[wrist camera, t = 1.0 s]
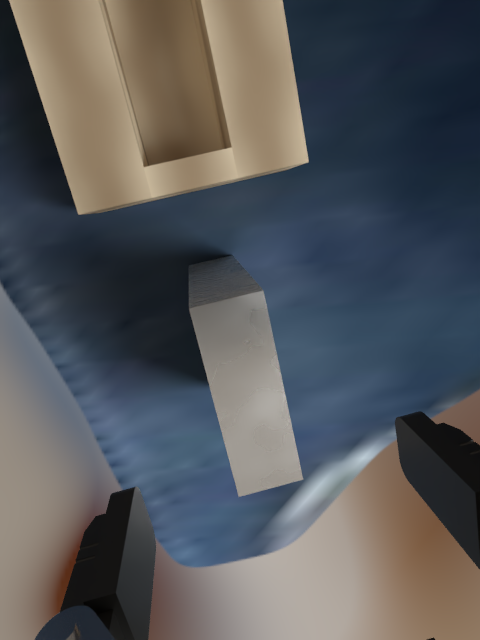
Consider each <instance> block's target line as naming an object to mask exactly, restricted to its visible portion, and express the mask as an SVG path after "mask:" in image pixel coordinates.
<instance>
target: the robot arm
mask: <svg viewBox="0 0 480 640" xmlns="http://www.w3.org/2000/svg"><path fill="white" fill-rule="evenodd" d="M395 427H396V435H397V443H398V450H399V459H400V463H401V467H402V469H403V472H404V474H405V476H406V478H407V480H408V481H409V482H410V484H411V485H412V486H413V487H414V488H415V490H416V491H417V492H418V494H419V495H420V496H421V497H422V499H423V500H424V501H425V502H426V503H427V505H428V506H429V507H430V508H431V510H432V511H433V512H434V513H435V514H436V516H437V517H438V518H439V520H440V521H441V522H442V523H443V525H444V526H445V527H446V528H447V530H448V531H449V532H450V533H451V535H452V536H453V537H454V538H455V539H456V541H457V542H458V543H459V545H460V546H461V547H462V548H463V549H464V551H465V552H466V553H467V554H468V556H469V557H470V558H471V559H472V561H473V562H474V563H475V564H476V566H477V567H478V568H479V569H480V445H479V444H477V443H476V442H473V440H472V439H471V438H470V437H469V436H468V435H466V434H465V433H464V432H463V431H461V430H460V429H457V428H455V427H452V426H450V425H447V424H445V423H441V424H435V423H434V422H433V421H432V420H431V419H430V418H429V417H427V416H426V415H425V414H424V413H423V412H420V411H419V412H416V413H412V414H408V415H404V416H401V417H397V418H396V420H395ZM155 553H156V542H155V535H154V530H153V527H152V524H151V521H150V518H149V515H148V512H147V509H146V506H145V503H144V501H143V498H142V495H141V492H140V490H139V488H138V487H134V488H130V489H126V490H122V491H119V492H115V493H112V494H111V496H110V500H109V504H108V507H107V511H106V514H102V515H99V516H96V517H95V518H94V520H93V521H92V522H91V524H90V525H89V526H88V528H87V529H86V530H85V532H84V536H83V539H82V542H81V545H80V550H79V552H78V555H77V558H76V564H75V565H74V568H73V571H72V574H71V578H70V581H69V584H68V587H67V591H66V594H65V597H64V601H63V604H62V607H61V610H60V613H58V614H57V615H55V616H54V617H53V618H52V619H51V620H49V621H48V622H47V623H46V624H45V626H44V627H43V628H42V629H41V630H40V632H39V633H38V635H37V636H36V638H35V640H148V635H149V624H150V613H151V601H152V589H153V577H154V565H155ZM428 640H435V639H434V638H431V639H428Z"/></svg>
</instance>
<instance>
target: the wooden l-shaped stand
mask: <svg viewBox="0 0 480 640" xmlns="http://www.w3.org/2000/svg"><path fill="white" fill-rule="evenodd" d="M9 1H10V5H11V8H12V11H13V14H14V17H15V20H16V23H17V26H18V29H19V32H20V35H21V39H22V42H23V45H24V48H25V51H26V54H27V57H28V60H29V63H30V66H31V69H32V73H33V76H34V79H35V82H36V85H37V88H38V91H39V94H40V97H41V100H42V103H43V107H44V110H45V113H46V116H47V119H48V122H49V125H50V128H51V131H52V134H53V137H54V141H55V144H56V147H57V150H58V153H59V156H60V159H61V162H62V165H63V168H64V171H65V175H66V178H67V181H68V184H69V187H70V190H71V193H72V196H73V199H74V202H75V205H76V209H77V212H78V215H82V214H93V213H102V212H106V211H111V210H115V209H119V208H124V207H128V206H132V205H137V204H141V203H145V202H150V201H154V200H158V199H163V198H167V197H172V196H176V195H180V194H185V193H189V192H193V191H198V190H202V189H206V188H211V187H215V186H219V185H224V184H228V183H233V182H237V181H241V180H246V179H250V178H254V177H259V176H263V175H267V174H272V173H276V172H280V171H285V170H288V169H291V168H293V167H296V166H299V165H302V164H305V163H308V162H309V161H308V154H307V148H306V142H305V136H304V130H303V124H302V117H301V111H300V105H299V99H298V93H297V87H296V81H295V74H294V68H293V62H292V56H291V50H290V44H289V37H288V31H287V25H286V19H285V13H284V7H283V1H282V0H9Z"/></svg>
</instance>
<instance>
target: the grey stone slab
mask: <svg viewBox="0 0 480 640" xmlns="http://www.w3.org/2000/svg"><path fill="white" fill-rule="evenodd" d="M189 311H190V315H191V318H192V322H193V326H194V330H195V333H196V337H197V341H198V345H199V348H200V352H201V356H202V360H203V363H204V367H205V371H206V375H207V379H208V382H209V386H210V390H211V394H212V397H213V401H214V405H215V409H216V412H217V416H218V420H219V424H220V427H221V431H222V435H223V439H224V442H225V446H226V450H227V454H228V457H229V461H230V465H231V469H232V473H233V476H234V480H235V484H236V488H237V491H238V495H239V497H240V496H244V495H248V494H251V493H255V492H259V491H262V490H266V489H270V488H273V487H277V486H281V485H284V484H288V483H292V482H295V481H299V480H303V477H302V472H301V468H300V463H299V458H298V453H297V449H296V444H295V439H294V434H293V430H292V425H291V420H290V415H289V410H288V406H287V401H286V396H285V391H284V387H283V382H282V377H281V372H280V367H279V363H278V358H277V353H276V348H275V344H274V339H273V334H272V329H271V325H270V320H269V315H268V310H267V305H266V301H265V296H264V291H263V289H262V288H261V287H260V286H259V285H258V284H257V283H256V281H255V280H254V279H253V278H252V277H251V276H250V275H249V273H248V272H247V271H246V270H245V269H244V268H243V267H242V265H241V264H240V263H239V262H238V261H237V260H236V259H235V257H234V256H233V255H231V256H227V257H223V258H219V259H215V260H210V261H206V262H202V263H198V264H194V265H189Z"/></svg>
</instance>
